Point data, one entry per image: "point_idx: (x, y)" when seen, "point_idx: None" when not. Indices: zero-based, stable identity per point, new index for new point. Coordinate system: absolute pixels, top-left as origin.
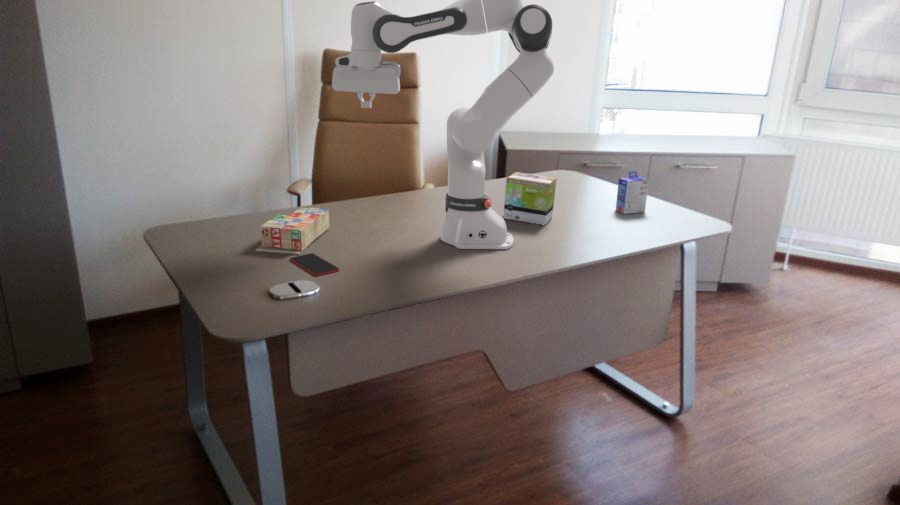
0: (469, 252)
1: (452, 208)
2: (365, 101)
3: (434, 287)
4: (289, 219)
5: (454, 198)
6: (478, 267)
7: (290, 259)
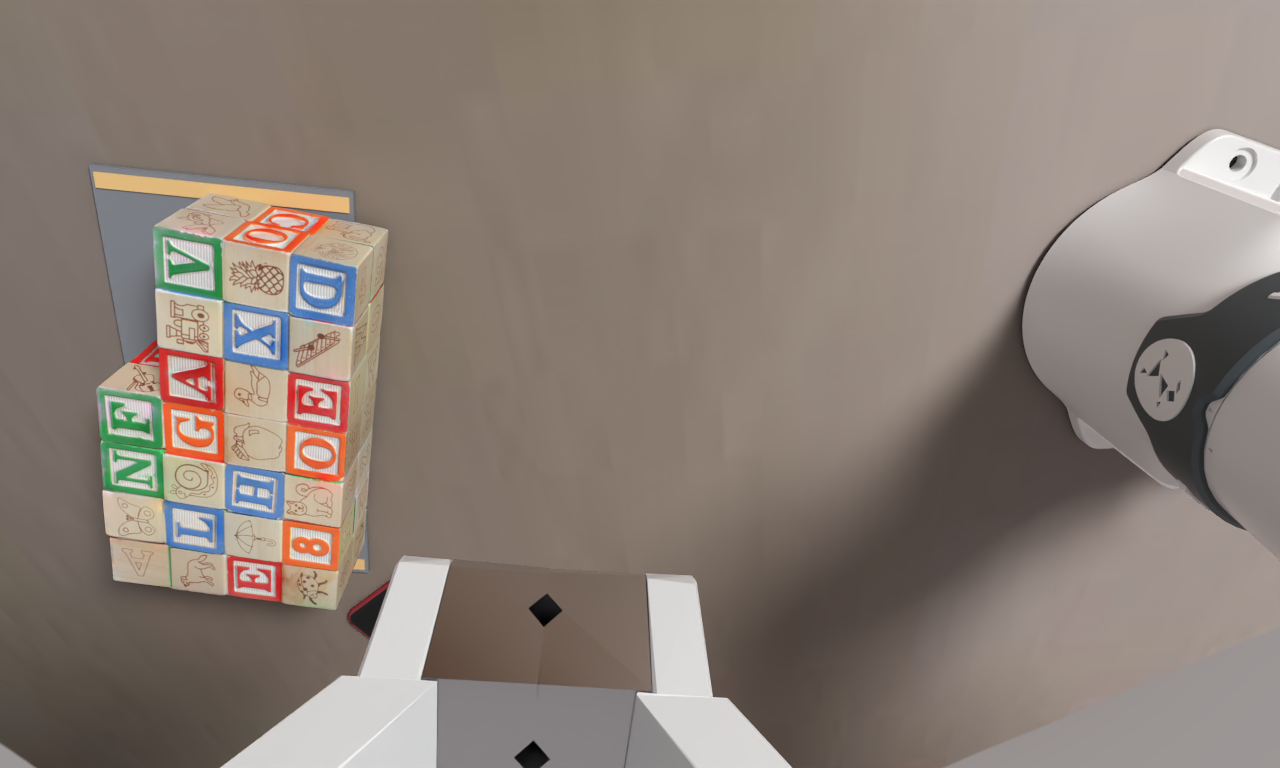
0: (1118, 469)
1: (1170, 473)
2: (495, 734)
3: (903, 758)
4: (204, 477)
5: (1221, 515)
6: (1103, 609)
7: (354, 626)
